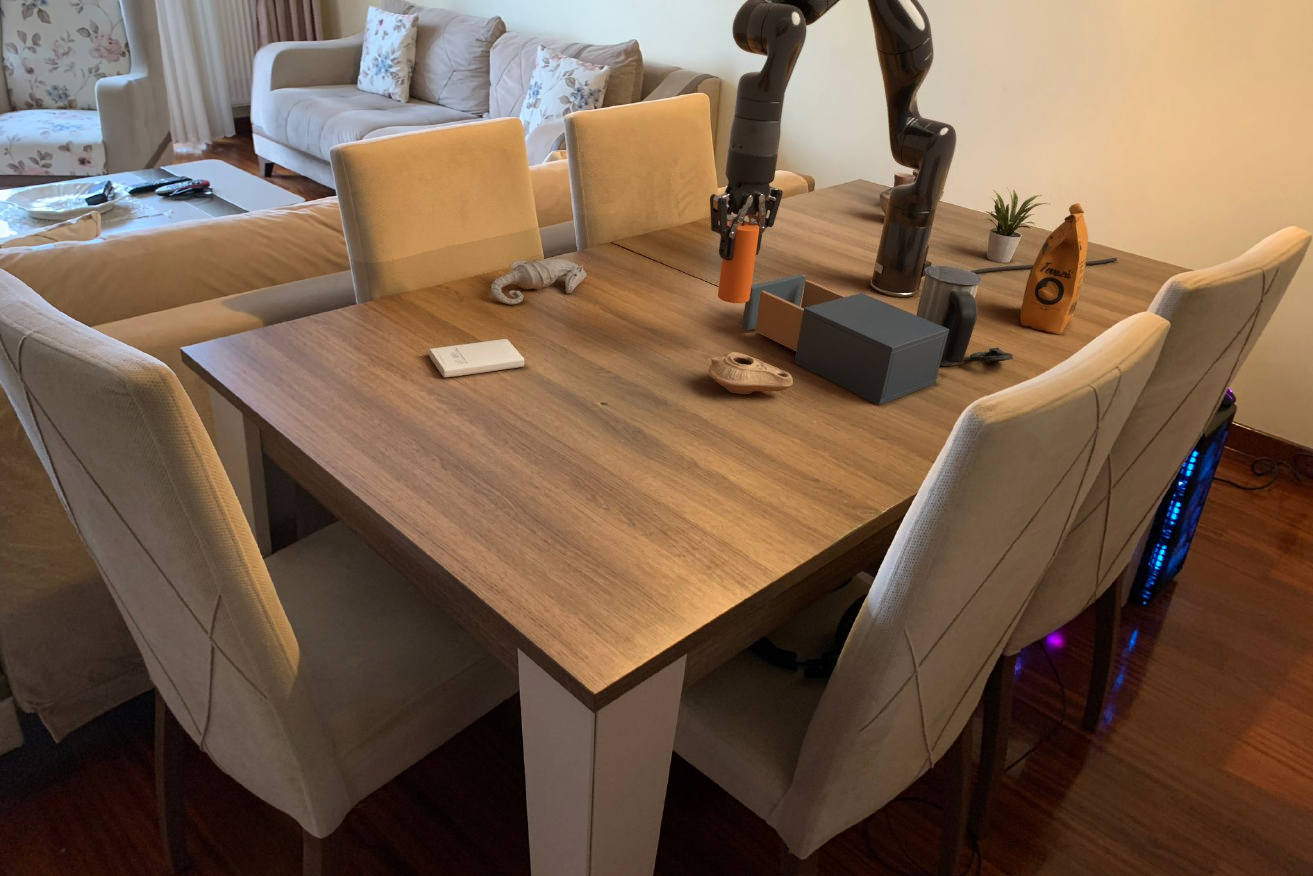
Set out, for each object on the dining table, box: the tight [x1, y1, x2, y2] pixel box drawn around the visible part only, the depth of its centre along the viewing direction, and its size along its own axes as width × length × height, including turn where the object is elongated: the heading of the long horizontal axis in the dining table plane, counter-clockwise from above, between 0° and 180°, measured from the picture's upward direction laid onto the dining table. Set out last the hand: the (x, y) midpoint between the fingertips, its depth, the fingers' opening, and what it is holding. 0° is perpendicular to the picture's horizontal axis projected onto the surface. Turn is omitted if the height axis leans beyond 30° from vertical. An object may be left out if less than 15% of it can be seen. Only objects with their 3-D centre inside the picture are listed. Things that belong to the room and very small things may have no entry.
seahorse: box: [489, 257, 588, 306], centre depth 167 cm, size 5×12×20 cm
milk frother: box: [915, 265, 1014, 367], centre depth 153 cm, size 14×16×15 cm
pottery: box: [879, 169, 945, 221], centre depth 233 cm, size 11×25×12 cm, turn 145°
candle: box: [717, 219, 759, 304], centre depth 146 cm, size 5×5×13 cm
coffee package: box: [1019, 203, 1089, 335], centre depth 172 cm, size 10×12×22 cm
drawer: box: [741, 273, 848, 352], centre depth 157 cm, size 21×13×8 cm, turn 40°
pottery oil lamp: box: [708, 351, 794, 395], centre depth 138 cm, size 9×12×7 cm
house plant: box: [984, 187, 1050, 264], centre depth 207 cm, size 14×14×16 cm
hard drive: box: [428, 338, 525, 379], centre depth 140 cm, size 2×8×12 cm
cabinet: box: [794, 292, 949, 406], centre depth 147 cm, size 18×15×10 cm
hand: (739, 255), depth 146 cm, fingers closed on candle, 5 cm apart
